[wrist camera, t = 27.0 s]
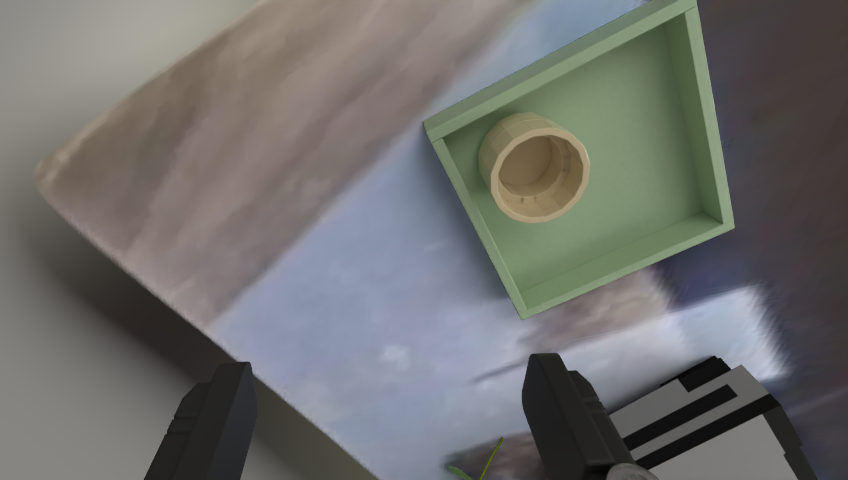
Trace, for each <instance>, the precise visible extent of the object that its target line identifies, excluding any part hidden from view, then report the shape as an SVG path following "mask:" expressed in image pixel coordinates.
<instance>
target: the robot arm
mask: <svg viewBox="0 0 848 480" xmlns="http://www.w3.org/2000/svg"><path fill="white" fill-rule="evenodd" d="M522 404H523V410H524V413H525V416H526V418H527V421H528V424H529V427H530V429H531V432H532V435H533V437H534V440H535V443H536V446H537V448H538V451H539V454H540V457H541V459H542V462H543V465H544V467H545V470H546V473H547V476H548V478H549V480H659V479H658V478H657V477H656V476H655V475H654V474H653V473H651V472H650V471H648V470H647V469H645V468H643V467H641V466H638V465H637V464H636V462H635V461H634V459H633V457H632V456H631V454H630V452H629V450H628V448H627V447H626V445H625V443H624V441H623V440H622V438H621V436H620V434H619V433H618V431H617V429H616V427H615V426H614V424H613V422H612V420H611V419H610V417H609V415H607V414H606V410H605V408H604V406H603V405H602V403H601V402H600V401H599V398H598V396H597V394H596V392H595V390H594V389H593V387H592V385H591V383H589V382H588V381H587V380H586V379H585V378H584V377H583V376H582V375H581V374H580V373H578V372H577V371H576V370H575V371H568V370H567V369H566V367H565V365H564V363H563V361H562V359H561V357H560V356H559V354H557V353H541V354H531V355H530V357H529V361H528V366H527V371H526V375H525V380H524V384H523V389H522ZM257 407H258V405H257V396H256V390H255V384H254V379H253V373H252V367H251V364H250V362H221V363H220V364H219V365H218V367H217V369H216V371H215V374H214V376H213V378H212V381H211V383H198V384H196V386H194V388H192V390H191V391H190V392H189V393H188V394H187V395H186V396H185V397H184V398H183V399H182V401H181V403H180V405H179V407H178V409H177V411H176V413H175V415H174V420H172V422H171V424H170V426H169V428H168V430H167V434H166V435H165V436H164V438H163V440H162V443H161V445H160V447H159V449H158V451H157V453H156V455H155V457H154V459H153V461H152V463H151V466H150V468H149V470H148V472H147V474H146V476H145V478H144V480H240V478H241V474H242V471H243V467H244V463H245V460H246V456H247V453H248V449H249V445H250V442H251V438H252V435H253V431H254V427H255V424H256V418H257Z"/></svg>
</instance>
